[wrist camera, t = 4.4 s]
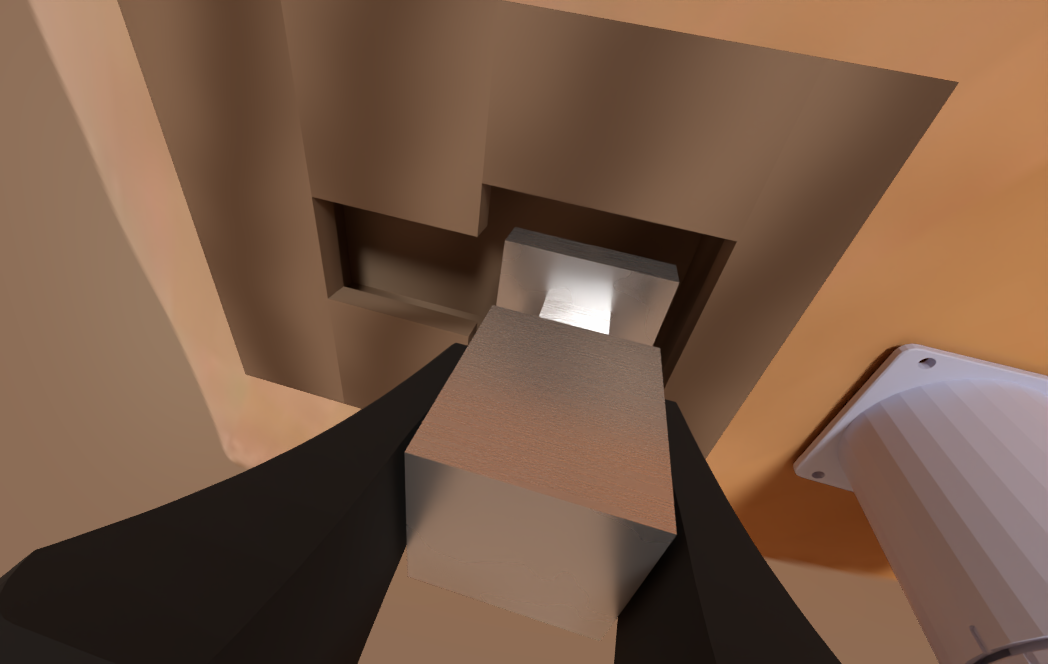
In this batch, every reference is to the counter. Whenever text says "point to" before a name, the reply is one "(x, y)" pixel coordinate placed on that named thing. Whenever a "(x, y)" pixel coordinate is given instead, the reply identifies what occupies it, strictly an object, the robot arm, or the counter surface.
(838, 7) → the counter surface
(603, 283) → the keyed peg
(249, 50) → the keyhole plate
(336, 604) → the robot arm
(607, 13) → the counter surface
